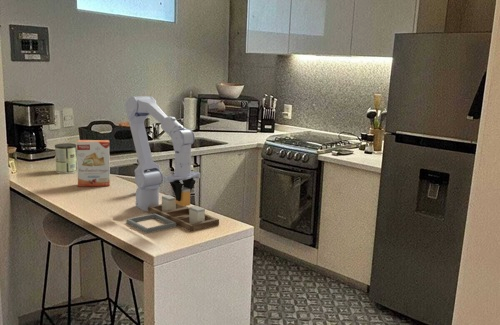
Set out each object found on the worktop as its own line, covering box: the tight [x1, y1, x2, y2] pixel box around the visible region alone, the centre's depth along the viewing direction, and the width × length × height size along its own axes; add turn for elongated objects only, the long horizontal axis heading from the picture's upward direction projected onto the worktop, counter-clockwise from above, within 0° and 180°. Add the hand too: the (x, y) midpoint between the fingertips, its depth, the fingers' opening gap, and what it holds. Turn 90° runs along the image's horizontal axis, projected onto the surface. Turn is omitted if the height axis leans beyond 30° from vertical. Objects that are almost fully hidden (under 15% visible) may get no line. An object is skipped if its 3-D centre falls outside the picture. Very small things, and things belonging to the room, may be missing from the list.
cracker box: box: [76, 139, 111, 188], centre depth 220 cm, size 14×6×21 cm, turn 105°
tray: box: [125, 213, 177, 234], centre depth 167 cm, size 14×12×2 cm
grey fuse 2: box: [188, 205, 206, 224], centre depth 168 cm, size 5×3×6 cm, turn 42°
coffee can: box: [54, 142, 78, 175], centre depth 247 cm, size 10×10×14 cm
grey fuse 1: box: [161, 194, 176, 212], centre depth 181 cm, size 5×3×6 cm, turn 42°
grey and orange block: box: [175, 186, 191, 207], centre depth 174 cm, size 5×3×6 cm, turn 42°
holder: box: [147, 203, 220, 232], centre depth 175 cm, size 28×12×3 cm, turn 42°
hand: (182, 199), depth 174 cm, fingers closed on grey and orange block, 3 cm apart
